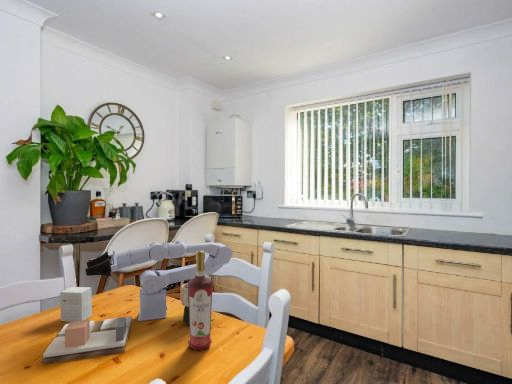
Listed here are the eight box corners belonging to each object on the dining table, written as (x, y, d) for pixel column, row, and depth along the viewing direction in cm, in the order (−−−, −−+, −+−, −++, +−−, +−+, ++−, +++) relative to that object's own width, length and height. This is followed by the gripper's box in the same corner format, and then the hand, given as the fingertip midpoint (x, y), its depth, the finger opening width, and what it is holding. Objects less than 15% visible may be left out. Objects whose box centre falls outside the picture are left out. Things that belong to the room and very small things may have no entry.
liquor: (188, 354, 82) (187, 255, 81) (186, 341, 89) (186, 249, 89) (214, 351, 84) (214, 253, 83) (211, 338, 91) (211, 248, 90)
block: (89, 336, 88) (89, 319, 87) (85, 344, 83) (85, 327, 83) (70, 338, 86) (70, 321, 86) (64, 347, 81) (64, 329, 81)
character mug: (193, 331, 95) (193, 291, 95) (174, 328, 97) (174, 289, 97) (208, 317, 106) (208, 281, 105) (190, 314, 108) (190, 279, 107)
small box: (92, 315, 107) (92, 287, 106) (81, 322, 101) (81, 292, 101) (71, 314, 107) (71, 286, 107) (60, 321, 102) (59, 291, 102)
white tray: (128, 331, 93) (128, 315, 93) (124, 345, 84) (124, 328, 84) (55, 340, 87) (55, 324, 87) (43, 357, 78) (43, 339, 78)
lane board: (132, 320, 103) (132, 314, 103) (124, 352, 83) (124, 345, 83) (67, 328, 97) (67, 322, 97) (41, 364, 77) (41, 357, 77)
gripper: (126, 242, 109) (85, 251, 103) (130, 252, 96) (82, 263, 90) (130, 260, 110) (89, 270, 104) (133, 272, 97) (87, 285, 91)
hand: (86, 268), depth 97 cm, fingers open, 7 cm apart
